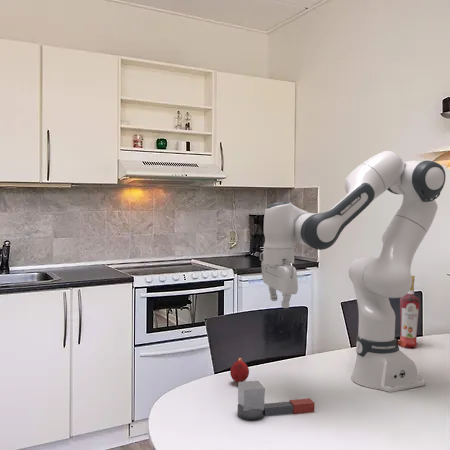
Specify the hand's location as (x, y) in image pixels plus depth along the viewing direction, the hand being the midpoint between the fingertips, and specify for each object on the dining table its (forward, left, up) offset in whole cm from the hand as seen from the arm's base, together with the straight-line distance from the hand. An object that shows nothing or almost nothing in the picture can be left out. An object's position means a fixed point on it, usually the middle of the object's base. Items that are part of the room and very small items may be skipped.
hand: (279, 303), depth 146 cm
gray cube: (+12, +14, -24) cm, 30 cm away
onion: (+9, -8, -27) cm, 29 cm away
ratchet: (+5, +13, -27) cm, 30 cm away
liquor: (-67, -33, -27) cm, 79 cm away
